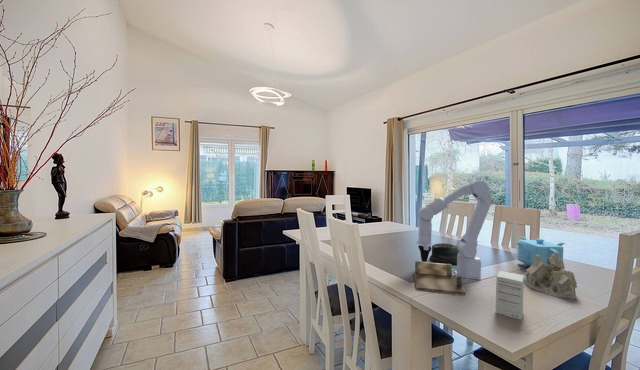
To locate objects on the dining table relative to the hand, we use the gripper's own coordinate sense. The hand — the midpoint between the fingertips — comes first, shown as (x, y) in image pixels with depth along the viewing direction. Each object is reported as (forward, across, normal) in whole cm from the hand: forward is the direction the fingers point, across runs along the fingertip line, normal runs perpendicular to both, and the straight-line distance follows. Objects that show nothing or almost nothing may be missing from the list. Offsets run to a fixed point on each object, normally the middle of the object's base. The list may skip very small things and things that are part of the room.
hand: (424, 261), depth 134 cm
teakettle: (+5, -24, +56) cm, 61 cm away
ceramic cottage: (+5, +7, +48) cm, 48 cm away
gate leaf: (+4, +5, +3) cm, 7 cm away
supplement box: (+5, +34, +24) cm, 42 cm away
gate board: (+5, +12, +4) cm, 14 cm away
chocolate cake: (+6, -21, +13) cm, 25 cm away
